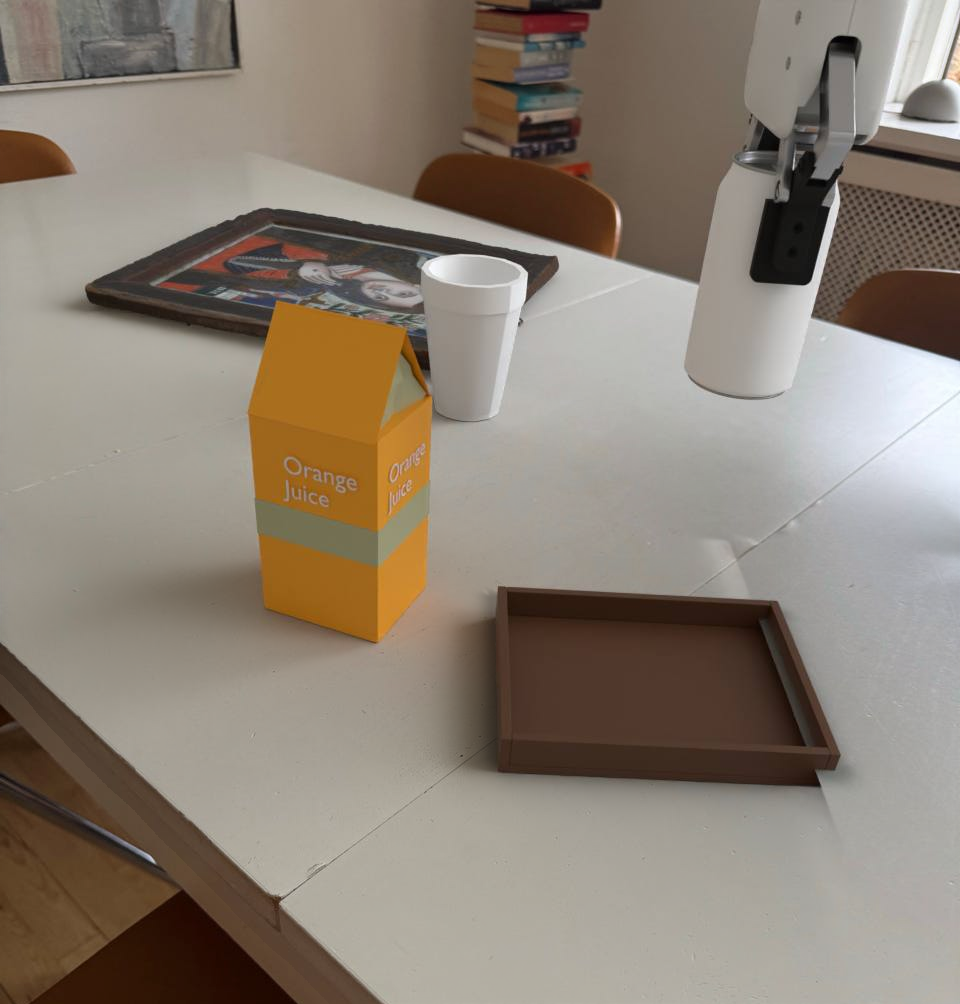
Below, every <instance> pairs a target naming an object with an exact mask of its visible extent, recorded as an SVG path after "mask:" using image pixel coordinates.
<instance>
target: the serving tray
mask: <svg viewBox="0 0 960 1004" xmlns="http://www.w3.org/2000/svg"><path fill="white" fill-rule="evenodd" d="M496 592H497V593H496V602H495V603H496V604H495V617H494V618H495V619H494V621H495V624H494V625H495V629H494V630H495V675H496V676H495V683H496V687H495V688H496V690H495V691H496V732H497V733H496V736H497V737H496V742H497V743H496V744H497V745H496V746H497V772H499V773H513V774H514V773H516V774H535V775H537V774H539V775H559V776H580V777H599V778H600V777H601V778H621V779H622V778H623V779H643V780H644V779H645V780H666V781H667V780H668V781H669V780H670V781H687V782H688V781H689V782H707V783H708V782H709V783H710V782H711V783H731V784H736V783H737V784H753V785H755V784H757V785H776V786H795V787H796V786H799V787H817V788H818V787H820V788H821V787H822V784H821V781H820V779H819V776H818V774H817V771H819V770H820V771H836V769H837V767H838V764H839V761H840V758H841V757H842V756H841V755H842V754H841V752H840V749H839V746H838V744H837V742H836V739H835V737H834V734H833V732H832V729H831V727H830V724H829V723H828V720H827V717H826V715H825V712H824V710H823V707H822V705H821V703H820V700H819V698H818V695H817V693H816V691H815V688H814V686H813V684H812V683H813V682H812V681H811V678H810V676H809V673H808V671H807V668H806V666H805V664H804V661H803V660H802V659H803V658H802V656H801V654H800V652H799V649H798V647H797V645H796V642H795V640H794V637H793V635H792V632H791V630H790V628H789V625H788V622H787V620H786V618H785V615H784V613H783V611H782V608H781V605H780V603H779V601H778V600H773V599H772V600H771V599H768V600H767V599H752V598H751V599H747V598H730V597H729V598H728V597H712V596H711V597H710V596H693V595H692V596H691V595H676V594H675V595H673V594H672V595H671V594H655V593H635V592H616V591H615V592H614V591H597V590H579V589H578V590H577V589H561V588H560V589H559V588H541V587H521V586H520V587H519V586H505V585H498V586H497V591H496ZM761 620H766V621H767V624H768V625H769V628H770V631H771V634H772V637H773V639H774V642H775V644H776V646H777V649H778V652H779V655H780V657H781V660H782V662H783V665H784V667H785V670H786V673H787V675H788V678H789V680H790V683H791V685H792V688H793V690H794V694H795V696H796V699H797V701H798V704H799V707H800V709H801V711H802V714H803V716H804V719H805V721H806V724H807V727H808V730H809V732H810V734H811V737H812V740H813V743H814V744H815V746H807V745H806V741H805V738H804V736H803V733H802V731H801V728H800V725H799V722H798V721H797V717H796V715H795V712H794V709H793V707H792V703H791V701H790V698H789V696H788V693H787V691H786V689H785V686H784V682H783V680H782V677H781V675H780V673H779V670H778V666H777V664H776V661H775V659H774V656H773V654H772V650H771V648H770V645H769V643H768V641H767V637H766V635H765V632H764V630H763V627H762V623H761V622H760V621H761Z"/></svg>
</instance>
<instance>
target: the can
mask: <svg viewBox="0 0 960 1004" xmlns="http://www.w3.org/2000/svg"><path fill="white" fill-rule="evenodd" d="M778 153H779V151H744V152H742V151H739V152H736V153H734V154H733V155H732V157H731V160H732V164H731V167H730V168H729V170H728V171H727V173H726V174H725V176H724V177H723V179H722V180H721V181H720V184H719V185H718V188H717V193H716V198H715V203H714V207H713V211H712V217H711V221H710V227H709V231H708V235H707V236H708V237H707V243H706V247H705V252H704V257H703V262H702V267H701V272H700V278H699V284H698V288H697V292H696V298H695V304H694V308H693V314H692V319H691V325H690V330H689V335H688V341H687V345H686V352H685V357H684V363H683V370H684V371H685V373H686V374H687V377H688V378H689V380H690V381H691V382H692V383H693V384H695V385H696V386H697V387H699V388H700V389H703V390H704V391H706V392H710V393H712V394H714V395H718V396H722V397H725V398H730V399H735V400H736V399H737V400H743V401H744V400H746V401H762V400H770V399H774V398H778V397H780V396H782V395H783V394H784V393H785V392H786V391H787V390H789V389H790V388H791V387H792V386H793V383H794V380H795V377H796V373H797V370H798V366H799V363H800V359H801V356H802V352H803V348H804V345H805V340H806V337H807V334H808V330H809V327H810V326H809V324H810V322H811V318H812V314H813V310H814V306H815V303H816V299H817V295H818V291H819V288H820V284H821V280H822V278H823V277H822V276H823V273H824V268H825V265H826V262H827V257H828V253H829V249H830V246H831V242H832V238H833V234H834V230H835V226H836V222H837V218H838V214H839V210H840V206H841V205H840V204H841V196H840V189H839V186H838V185H839V184H838V183H837V186H836V193H835V198H834V201H833V204H832V205H831V208H830V212H829V215H828V219H827V223H826V227H825V231H824V235H823V238H822V242H821V246H820V250H819V254H818V258H817V262H816V265H815V269H814V273H813V277H812V280H811V282H810V283H809V284H807V285H805V286H800V285H786V284H771V283H757V282H754V281H753V280H752V278H751V277H750V274H749V272H750V267H751V262H752V258H753V253H754V249H755V244H756V240H757V235H758V231H759V226H760V222H761V217H762V213H763V208H764V204H765V199H773V196H774V187H775V178H776V170H777V161H778ZM802 156H803V154H801V153H795V161H794V170H795V168H796V166H797V164H798V163H799V159H800V158H801V157H802ZM794 170H793V171H794Z"/></svg>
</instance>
